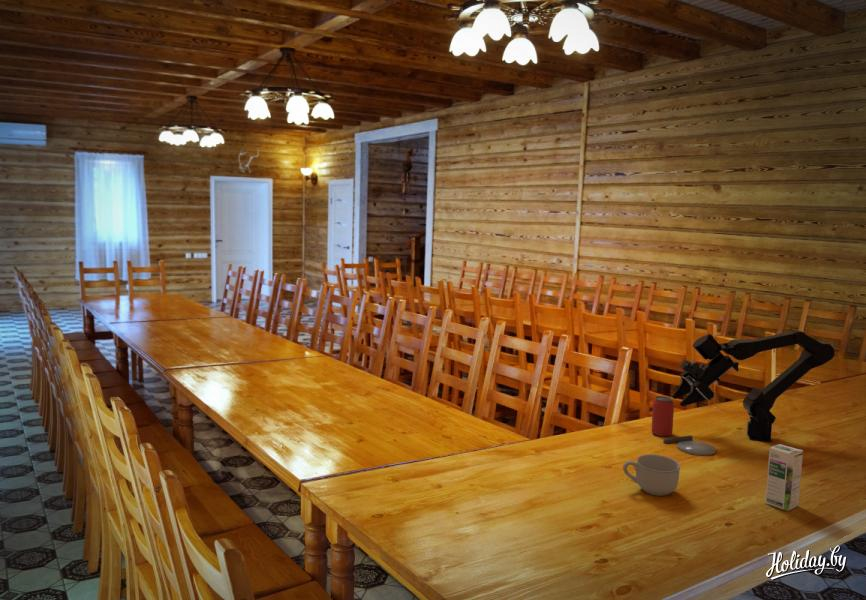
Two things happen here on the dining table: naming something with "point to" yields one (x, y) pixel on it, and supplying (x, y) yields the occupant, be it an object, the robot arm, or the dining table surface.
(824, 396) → the dining table surface
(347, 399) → the dining table surface
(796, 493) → the syrup box
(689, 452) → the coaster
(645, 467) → the teacup
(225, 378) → the dining table surface
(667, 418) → the beer can
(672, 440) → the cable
